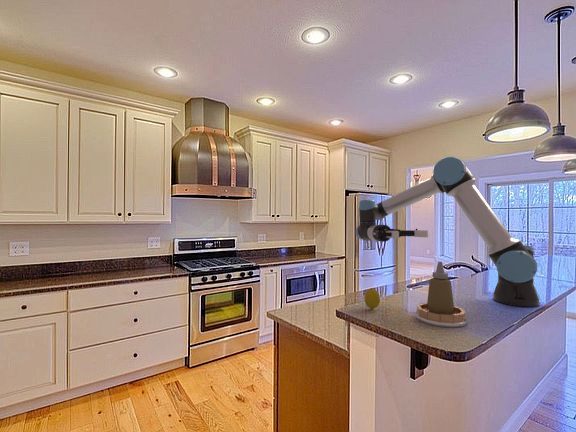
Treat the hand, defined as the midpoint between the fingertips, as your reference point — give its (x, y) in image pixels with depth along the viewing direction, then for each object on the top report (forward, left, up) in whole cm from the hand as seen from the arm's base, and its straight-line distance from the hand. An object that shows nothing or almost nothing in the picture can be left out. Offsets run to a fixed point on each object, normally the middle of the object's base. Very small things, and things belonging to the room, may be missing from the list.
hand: (412, 234), depth 118 cm
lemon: (+17, -1, -28) cm, 33 cm away
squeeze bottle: (+2, +16, -27) cm, 31 cm away
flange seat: (+2, +16, -28) cm, 32 cm away
